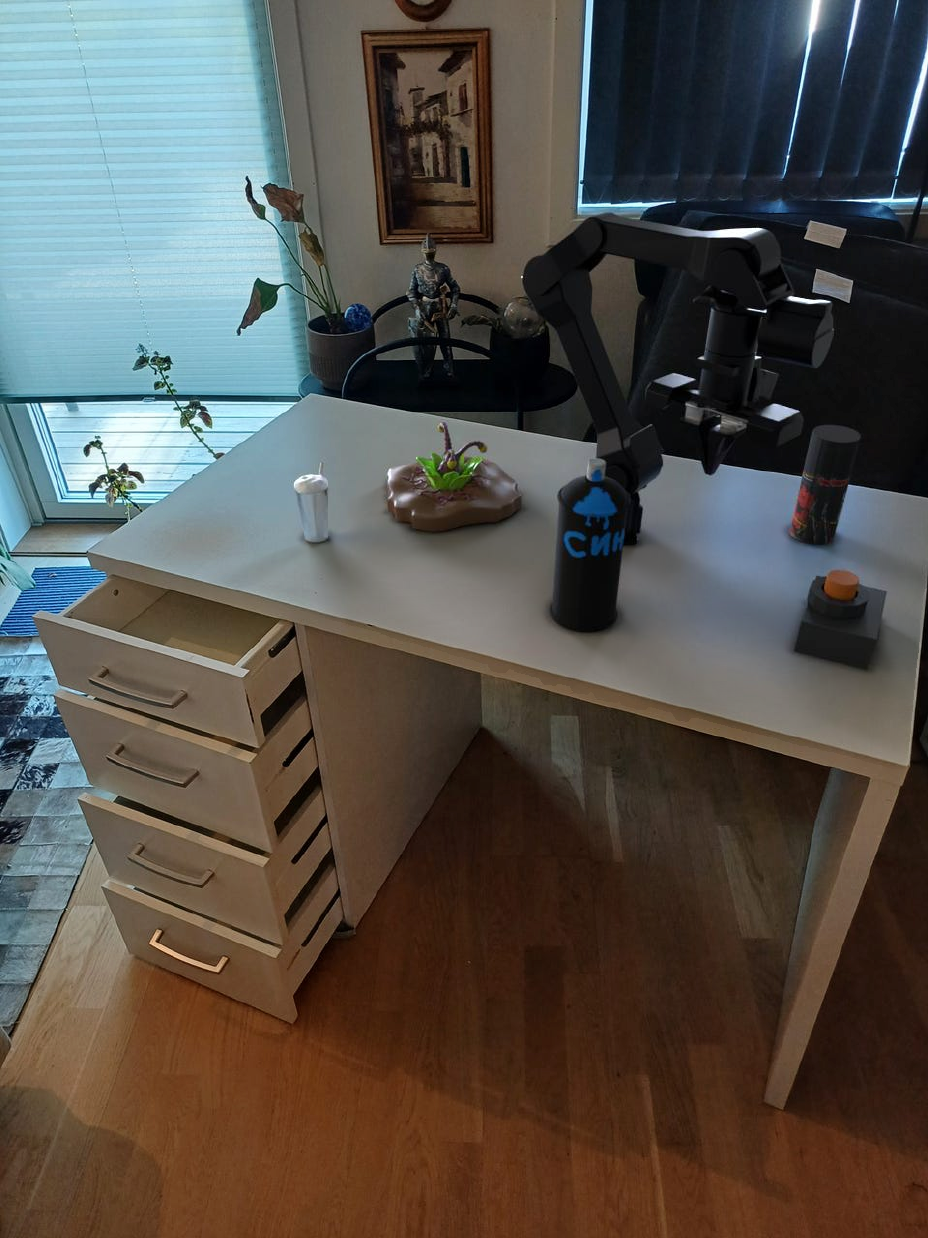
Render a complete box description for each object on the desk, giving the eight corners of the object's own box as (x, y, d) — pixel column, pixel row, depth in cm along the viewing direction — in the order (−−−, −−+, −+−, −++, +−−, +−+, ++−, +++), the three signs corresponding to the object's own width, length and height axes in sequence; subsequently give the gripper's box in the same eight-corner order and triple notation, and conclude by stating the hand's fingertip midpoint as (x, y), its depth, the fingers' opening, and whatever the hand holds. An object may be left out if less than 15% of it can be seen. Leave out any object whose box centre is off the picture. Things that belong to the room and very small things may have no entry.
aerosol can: (544, 596, 113) (553, 447, 101) (609, 593, 113) (625, 445, 102) (555, 634, 106) (566, 479, 95) (624, 631, 107) (643, 476, 95)
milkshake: (342, 530, 127) (336, 465, 121) (321, 548, 123) (315, 481, 117) (314, 524, 128) (308, 459, 123) (293, 541, 124) (285, 474, 119)
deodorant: (836, 546, 123) (864, 444, 115) (791, 542, 124) (815, 440, 116) (831, 526, 128) (857, 426, 119) (787, 522, 129) (810, 423, 120)
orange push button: (852, 604, 101) (857, 588, 100) (821, 596, 102) (825, 580, 101) (856, 589, 104) (861, 573, 103) (825, 582, 105) (829, 566, 104)
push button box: (867, 670, 100) (881, 626, 97) (792, 650, 103) (803, 607, 100) (877, 620, 108) (891, 577, 105) (807, 603, 111) (818, 561, 108)
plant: (491, 462, 145) (492, 396, 139) (536, 517, 130) (539, 444, 124) (370, 479, 140) (365, 410, 134) (402, 538, 125) (398, 463, 119)
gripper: (841, 353, 102) (811, 478, 111) (703, 318, 114) (686, 434, 122) (789, 375, 96) (761, 506, 105) (649, 336, 107) (634, 457, 116)
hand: (709, 473), depth 112 cm, fingers closed
